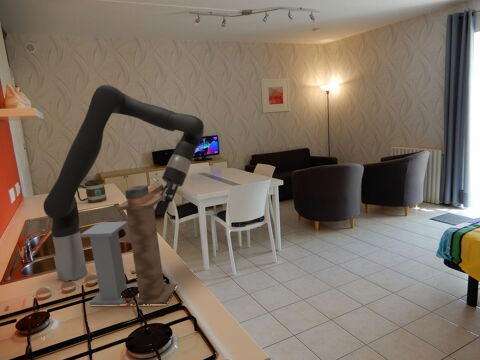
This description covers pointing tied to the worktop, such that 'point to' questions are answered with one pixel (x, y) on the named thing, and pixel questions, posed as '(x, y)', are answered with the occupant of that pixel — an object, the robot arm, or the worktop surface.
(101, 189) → the mug
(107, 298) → the blue-grey pedestal
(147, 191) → the grey and brown bar
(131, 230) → the cat scratching post
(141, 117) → the robot arm
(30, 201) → the worktop surface
